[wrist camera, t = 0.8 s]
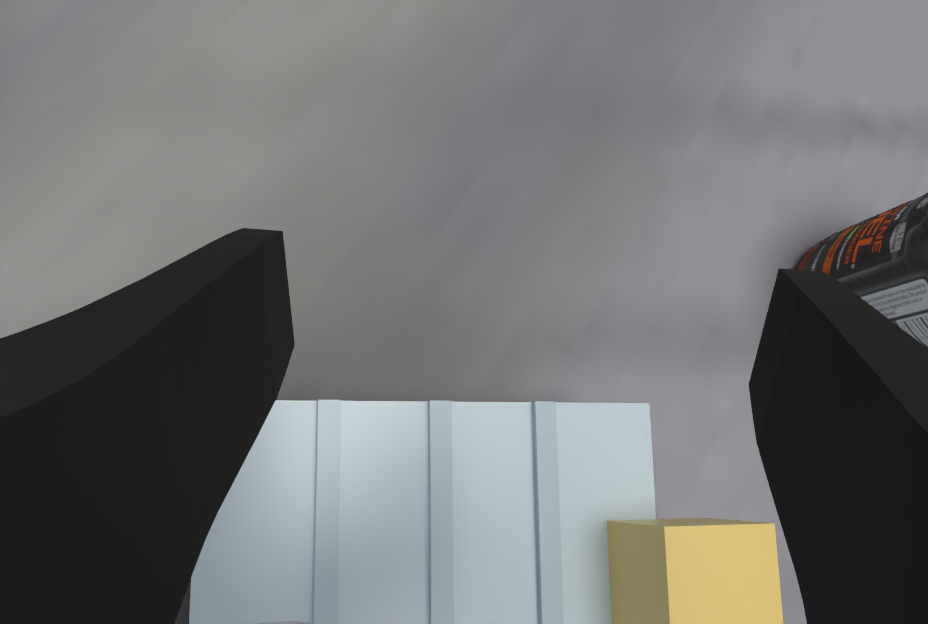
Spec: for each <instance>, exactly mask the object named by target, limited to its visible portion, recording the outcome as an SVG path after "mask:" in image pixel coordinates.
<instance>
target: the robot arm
mask: <svg viewBox="0 0 928 624" xmlns="http://www.w3.org/2000/svg"><path fill="white" fill-rule="evenodd" d="M293 348H294V335H293V326H292V316H291V307H290V297H289V288H288V278H287V269H286V260H285V250H284V241H283V231H274V230H261V229H248V228H242V229H239V230H237V231H234V232H232V233H229V234H227V235H225V236H223V237H221V238H219V239H217V240H215V241H213V242H211V243H209V244H207V245H205V246H203V247H201V248H200V249H198V250H196V251H194V252H192V253H190V254H188V255H186V256H185V257H183V258H181V259H179V260H177V261H175V262H173V263H171V264H169V265H168V266H166V267H164V268H162V269H160V270H158V271H156V272H154V273H152V274H151V275H149V276H147V277H145V278H143V279H141V280H139V281H137V282H135V283H133V284H130V285H128V286H126V287H124V288H122V289H120V290H118V291H116V292H114V293H112V294H110V295H107V296H105V297H103V298H101V299H99V300H97V301H95V302H93V303H91V304H89V305H87V306H84V307H82V308H80V309H77V310H75V311H73V312H70V313H68V314H65V315H63V316H60V317H58V318H56V319H53V320H51V321H48V322H45V323H42V324H40V325H37V326H34V327H32V328H29V329H26V330H24V331H21V332H18V333H15V334H12V335H10V336H7V337H4V338H1V339H0V624H174V623H175V620H176V617H177V615H178V612H179V609H180V606H181V603H182V600H183V598H184V595H185V592H186V589H187V587H188V584H189V582H190V579H191V576H192V574H193V571H194V568H195V566H196V563H197V561H198V558H199V555H200V553H201V550H202V547H203V545H204V542H205V540H206V537H207V535H208V533H209V531H210V528H211V526H212V524H213V522H214V520H215V518H216V515H217V513H218V511H219V509H220V507H221V505H222V503H223V501H224V499H225V498H226V496H227V494H228V492H229V490H230V488H231V486H232V484H233V482H234V480H235V478H236V476H237V475H238V473H239V471H240V469H241V467H242V465H243V463H244V461H245V459H246V457H247V455H248V453H249V451H250V450H251V448H252V446H253V444H254V442H255V440H256V438H257V436H258V434H259V432H260V430H261V428H262V426H263V424H264V422H265V420H266V418H267V416H268V414H269V412H270V411H271V408H272V406H273V404H274V402H275V400H276V398H277V396H278V393H279V390H280V387H281V384H282V382H283V379H284V376H285V373H286V370H287V367H288V364H289V360H290V357H291V354H292V351H293ZM749 390H750V398H751V406H752V414H753V421H754V427H755V434H756V440H757V445H758V448H759V452H760V456H761V459H762V462H763V466H764V469H765V473H766V476H767V479H768V483H769V486H770V490H771V493H772V496H773V499H774V503H775V506H776V509H777V512H778V516H779V519H780V522H781V526H782V529H783V532H784V535H785V539H786V542H787V545H788V549H789V552H790V555H791V558H792V562H793V565H794V568H795V572H796V575H797V579H798V583H799V587H800V591H801V595H802V599H803V604H804V609H805V615H806V620H807V624H928V348H927V347H926V346H924V345H923V344H922V343H920V342H919V341H918V340H916V339H915V338H913V337H912V336H911V335H909V334H908V333H907V332H905V331H904V330H903V329H901V328H900V327H899V326H897V325H896V324H895V323H893V322H892V321H891V320H889V319H888V318H887V317H886V316H884V315H883V314H882V313H880V312H879V311H878V310H876V309H875V308H874V307H872V306H871V305H870V304H869V303H867V302H866V301H865V300H863V299H862V298H861V297H859V296H858V295H857V294H855V293H854V292H853V291H851V290H850V289H849V288H847V287H846V286H844V285H843V284H842V283H840V282H839V281H837V280H836V279H834V278H833V277H831V276H830V275H828V274H826V273H824V272H817V271H804V270H790V269H779V270H778V274H777V278H776V282H775V286H774V290H773V293H772V297H771V301H770V305H769V309H768V313H767V316H766V320H765V324H764V328H763V332H762V336H761V340H760V343H759V347H758V351H757V355H756V359H755V363H754V366H753V370H752V374H751V378H750V382H749ZM252 624H318V623H309V622H301V621H285V622H268V623H252Z"/></svg>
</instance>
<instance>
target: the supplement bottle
mask: <svg viewBox="0 0 928 624" xmlns="http://www.w3.org/2000/svg"><path fill="white" fill-rule="evenodd" d="M797 270H804V271H817V272H824V273H826V274H828V275H830V276H831V277H833V278H834V279H836V280H837V281H839V282H840V283H842V284H843V285H844V286H846V287H847V288H849V289H850V290H851V291H853V292H854V293H855V294H857V295H858V296H859V297H861V298H862V299H863V300H865V301H866V302H867V303H869V304H870V305H871V306H872V307H874V308H875V309H876V310H878V311H879V312H880V313H882V314H883V315H884V316H886V317H887V318H888V319H889V320H891V321H892V322H893V323H895V324H896V325H897V326H899V327H900V328H901V329H903V330H904V331H905V332H907V333H908V334H909V335H911V336H912V337H913V338H915V339H916V340H918V341H919V342H920V343H922V344H923V345H924V346H926V347H927V348H928V193H926V194H925V195H923V196H921V197H919V198H916V199H914V200H912V201H909V202H907V203H904V204H902V205H900V206H898V207H895V208H892V209H891V210H888V211H886V212H883V213H881V214H878V215H876V216H874V217H871V218H869V219H867V220H864V221H862V222H860V223H858V224H856V225H853V226H850V227H848V228H846V229H844V230H842V231H840V232H837V233H835V234H833V235H832V236H830V237H828V238H826V239H824V240H823V241H821V242H819V243H818V244H816V245H815V246H814V247H813V248H812V249H810V250H809V251H808V252H807V254H806V255H805V256H804V258H803V259H802V261H801V262H800V264H799V266H798V268H797Z"/></svg>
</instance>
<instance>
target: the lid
mask: <svg viewBox="0 0 928 624" xmlns="http://www.w3.org/2000/svg"><path fill="white" fill-rule="evenodd" d="M285 621H301V622H309V623H318V624H783V615H782V604H781V592H780V580H779V569H778V557H777V545H776V533H775V523H763V522H751V521H738V520H725V519H712V518H680V519H656V510H655V493H654V475H653V458H652V441H651V424H650V407H649V403H556V402H552V401H535V402H452V401H428V402H418V401H341V400H318V401H285V400H275V402H274V404H273V406H272V408H271V411H270V412H269V414H268V416H267V418H266V420H265V422H264V424H263V426H262V428H261V430H260V432H259V434H258V436H257V438H256V440H255V442H254V444H253V446H252V448H251V450H250V451H249V453H248V455H247V457H246V459H245V461H244V463H243V465H242V467H241V469H240V471H239V473H238V475H237V476H236V478H235V480H234V482H233V484H232V486H231V488H230V490H229V492H228V494H227V496H226V498H225V499H224V501H223V503H222V505H221V507H220V509H219V511H218V513H217V515H216V518H215V520H214V522H213V524H212V526H211V528H210V531H209V533H208V535H207V537H206V540H205V542H204V545H203V547H202V550H201V553H200V555H199V558H198V561H197V563H196V566H195V568H194V571H193V574H192V576H191V592H190V613H189V624H252V623H268V622H285Z"/></svg>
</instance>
